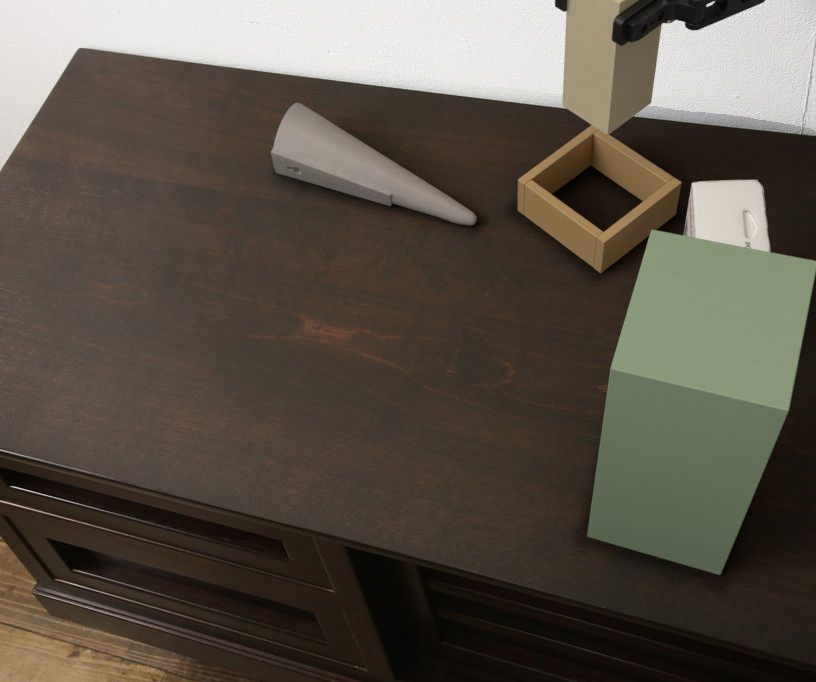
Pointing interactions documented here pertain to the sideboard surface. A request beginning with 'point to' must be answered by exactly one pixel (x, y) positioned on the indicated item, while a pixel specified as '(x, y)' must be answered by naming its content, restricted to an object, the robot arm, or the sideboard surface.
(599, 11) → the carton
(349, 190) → the grey tapered cone
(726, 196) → the ink box
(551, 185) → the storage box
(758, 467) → the stand
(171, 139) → the sideboard surface
